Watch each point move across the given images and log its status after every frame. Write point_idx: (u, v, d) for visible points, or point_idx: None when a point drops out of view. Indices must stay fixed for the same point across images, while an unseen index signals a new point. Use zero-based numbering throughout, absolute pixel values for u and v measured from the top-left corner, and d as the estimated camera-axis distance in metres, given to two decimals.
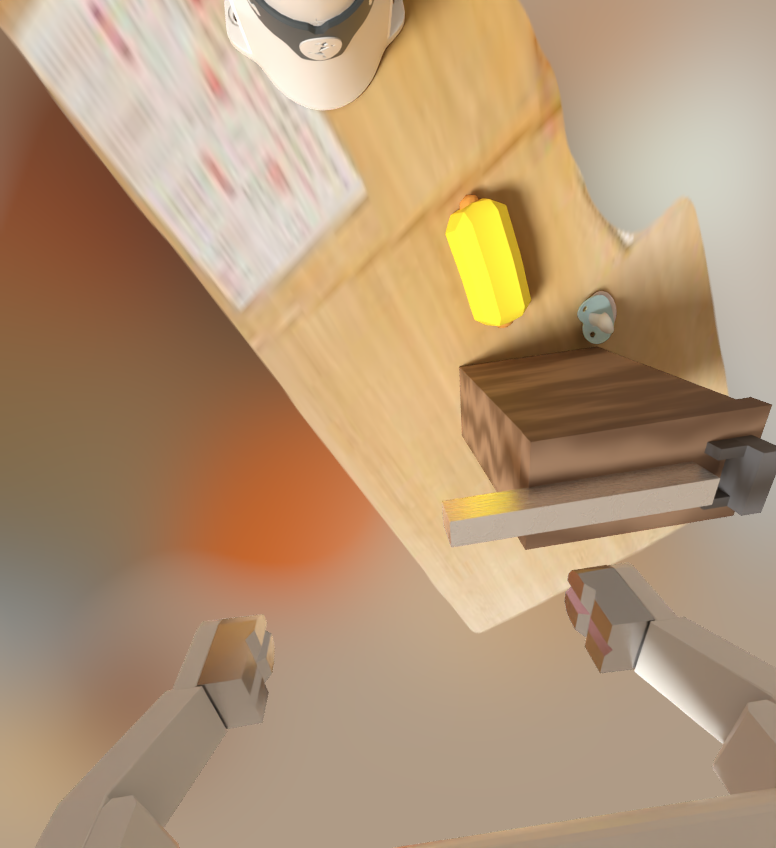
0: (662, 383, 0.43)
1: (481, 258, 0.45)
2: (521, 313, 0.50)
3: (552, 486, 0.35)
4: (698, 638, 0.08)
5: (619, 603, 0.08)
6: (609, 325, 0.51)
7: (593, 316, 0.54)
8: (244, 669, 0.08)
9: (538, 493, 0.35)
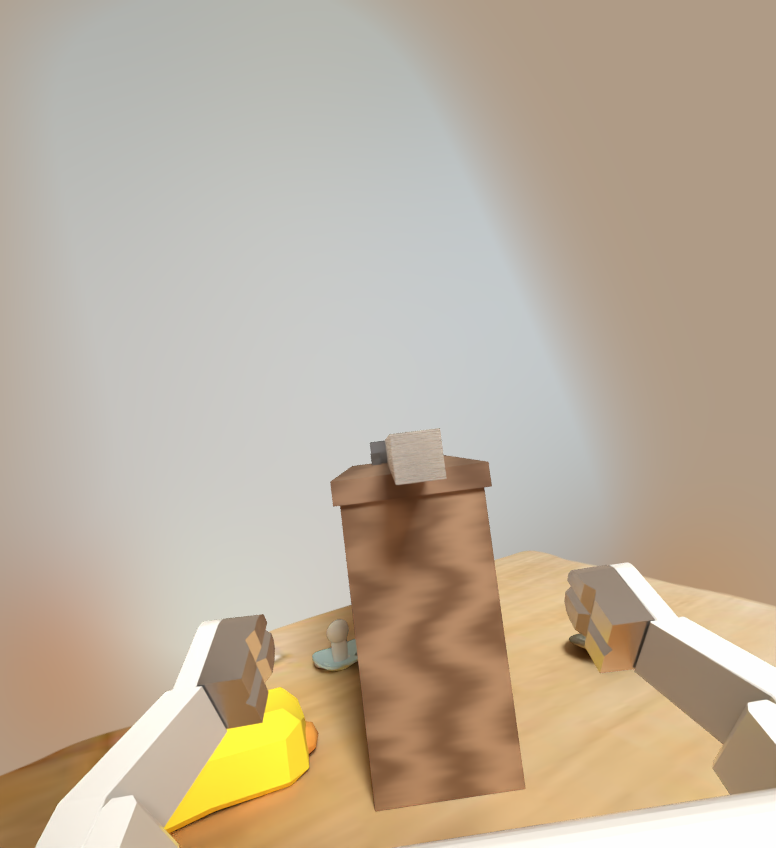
0: None
1: None
2: (292, 696, 0.37)
3: None
4: (698, 639, 0.08)
5: (619, 603, 0.08)
6: (335, 622, 0.49)
7: (334, 653, 0.49)
8: (244, 669, 0.08)
9: None
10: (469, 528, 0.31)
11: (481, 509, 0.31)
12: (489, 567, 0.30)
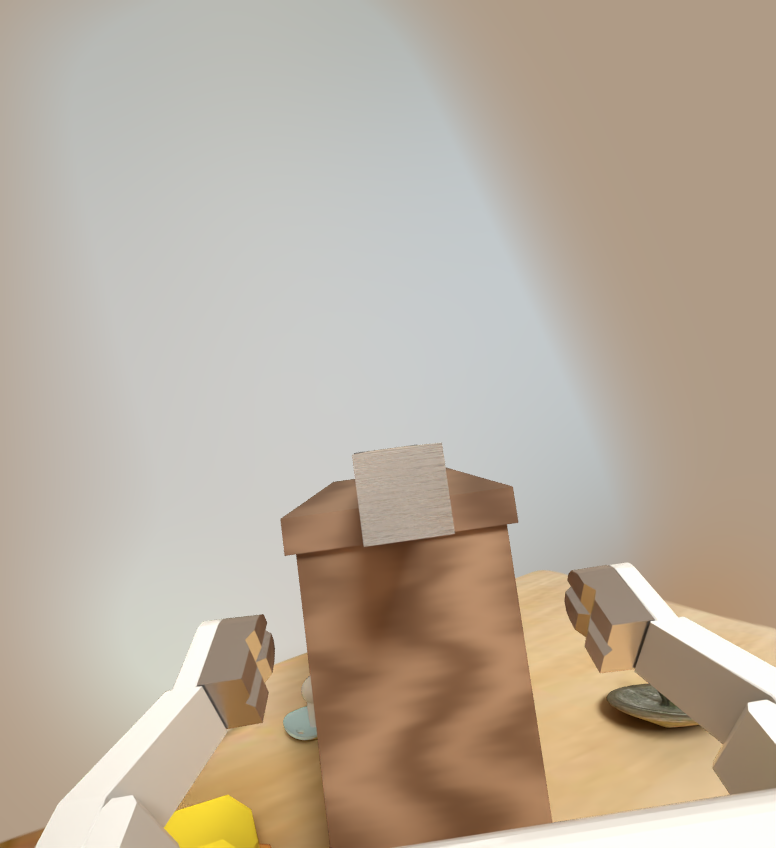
0: None
1: None
2: (243, 808, 0.27)
3: None
4: (698, 638, 0.08)
5: (619, 603, 0.08)
6: None
7: (311, 716, 0.39)
8: (244, 669, 0.08)
9: None
10: (486, 584, 0.21)
11: (503, 556, 0.21)
12: (516, 642, 0.21)
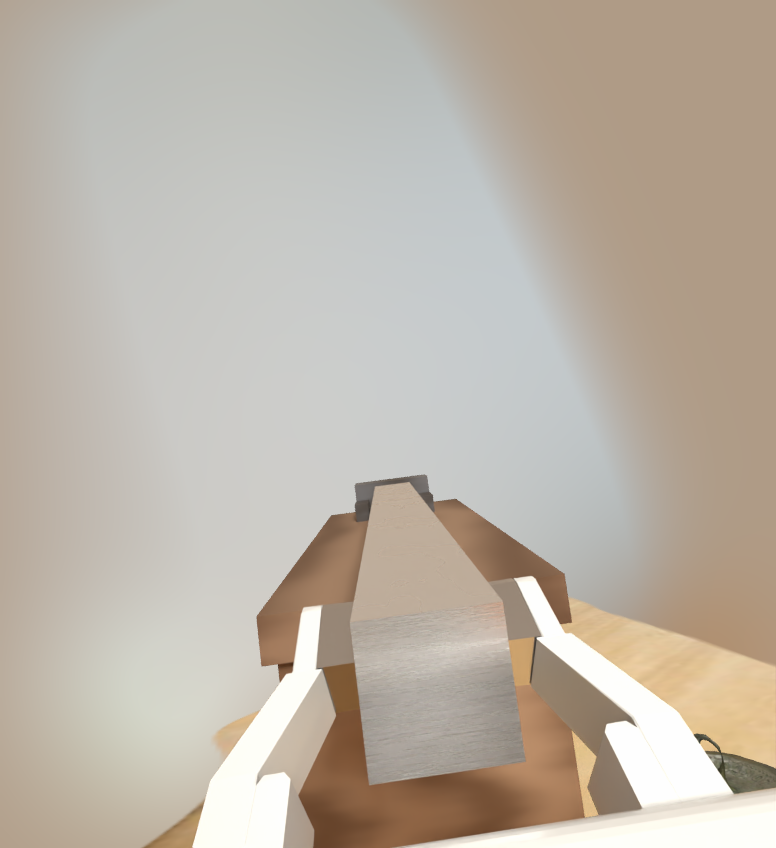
0: None
1: None
2: None
3: None
4: (577, 656, 0.07)
5: (511, 618, 0.08)
6: None
7: None
8: None
9: None
10: (527, 702, 0.16)
11: None
12: (568, 780, 0.16)
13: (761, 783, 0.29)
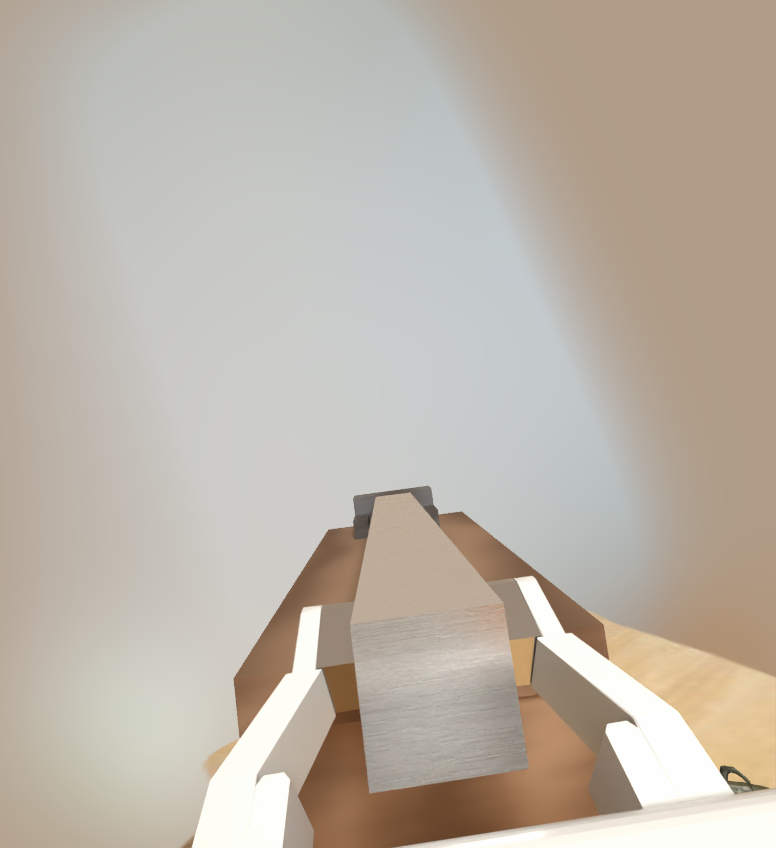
0: None
1: None
2: None
3: None
4: (578, 656, 0.07)
5: (511, 618, 0.08)
6: None
7: None
8: None
9: None
10: (559, 777, 0.13)
11: None
12: None
13: None
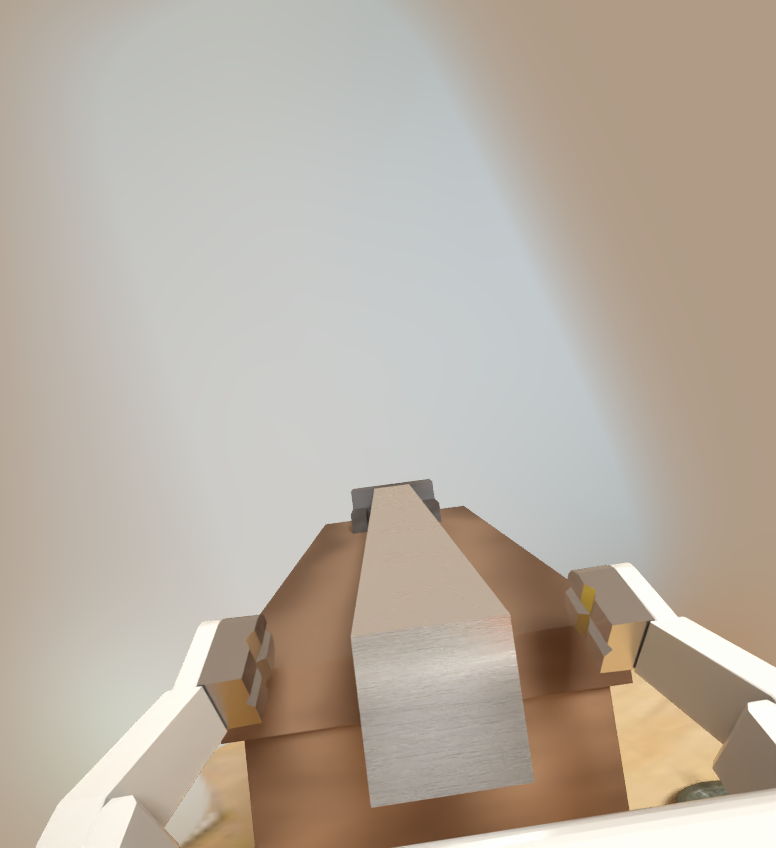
0: None
1: None
2: None
3: None
4: (698, 639, 0.08)
5: (619, 603, 0.08)
6: None
7: None
8: (244, 669, 0.08)
9: None
10: (573, 786, 0.12)
11: (602, 735, 0.12)
12: None
13: None
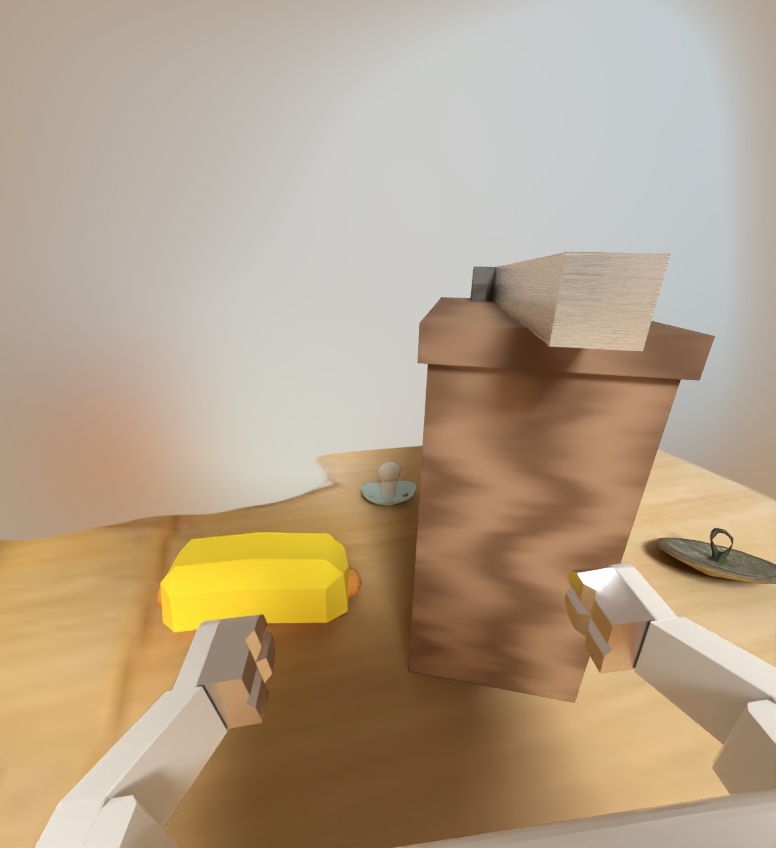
0: None
1: (225, 564, 0.30)
2: (339, 544, 0.34)
3: (512, 307, 0.22)
4: (698, 638, 0.08)
5: (619, 603, 0.08)
6: (388, 463, 0.47)
7: (383, 489, 0.48)
8: (244, 669, 0.08)
9: (517, 298, 0.21)
10: (625, 436, 0.19)
11: (658, 412, 0.18)
12: (633, 494, 0.20)
13: (755, 567, 0.37)
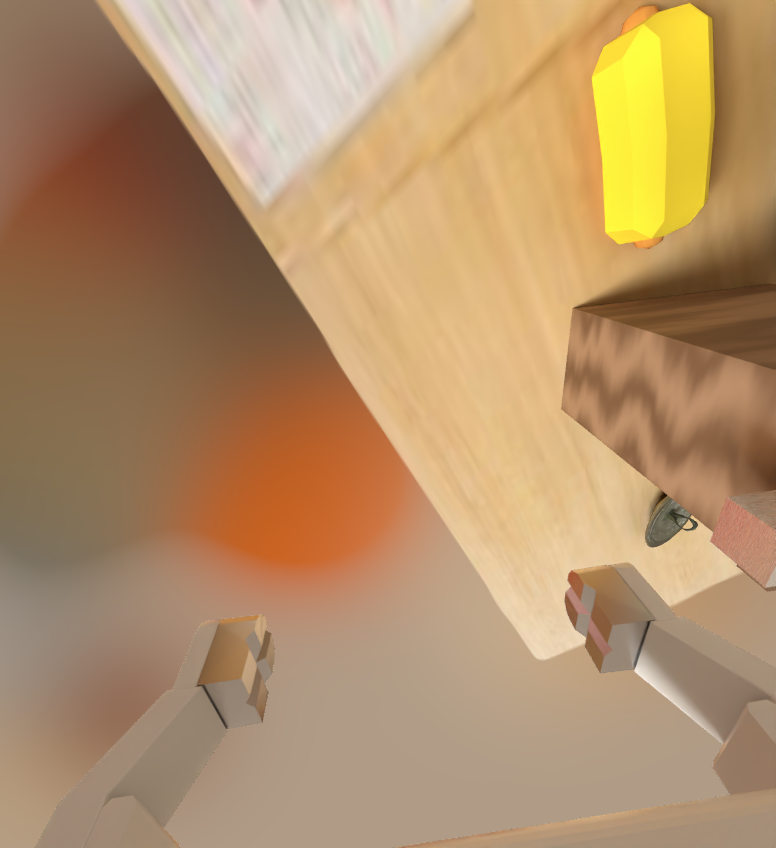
0: None
1: (660, 108, 0.28)
2: (690, 219, 0.33)
3: None
4: (698, 638, 0.08)
5: (619, 603, 0.08)
6: None
7: None
8: (244, 669, 0.08)
9: None
10: (710, 506, 0.26)
11: None
12: (670, 491, 0.30)
13: (662, 531, 0.53)
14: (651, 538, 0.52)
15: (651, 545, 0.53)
